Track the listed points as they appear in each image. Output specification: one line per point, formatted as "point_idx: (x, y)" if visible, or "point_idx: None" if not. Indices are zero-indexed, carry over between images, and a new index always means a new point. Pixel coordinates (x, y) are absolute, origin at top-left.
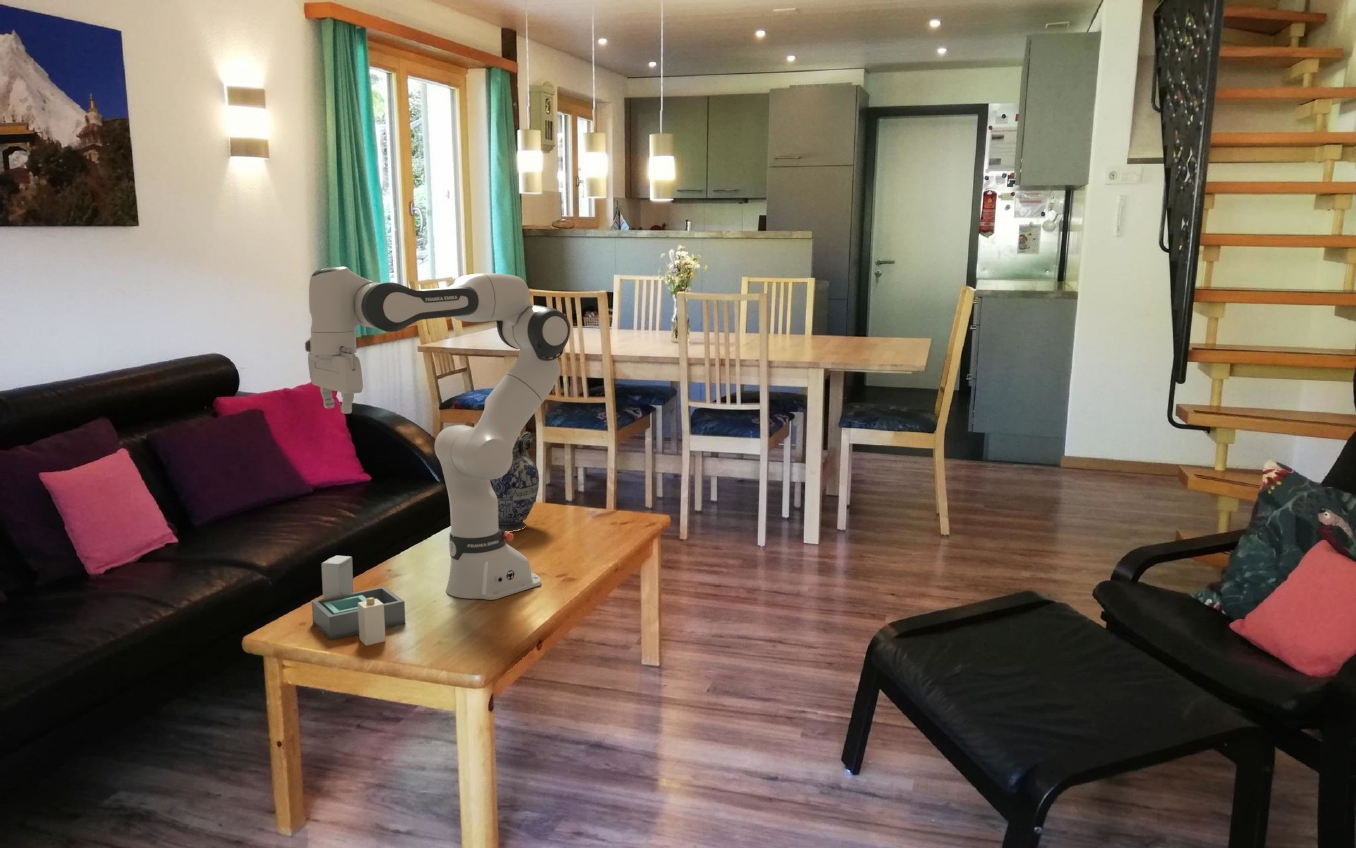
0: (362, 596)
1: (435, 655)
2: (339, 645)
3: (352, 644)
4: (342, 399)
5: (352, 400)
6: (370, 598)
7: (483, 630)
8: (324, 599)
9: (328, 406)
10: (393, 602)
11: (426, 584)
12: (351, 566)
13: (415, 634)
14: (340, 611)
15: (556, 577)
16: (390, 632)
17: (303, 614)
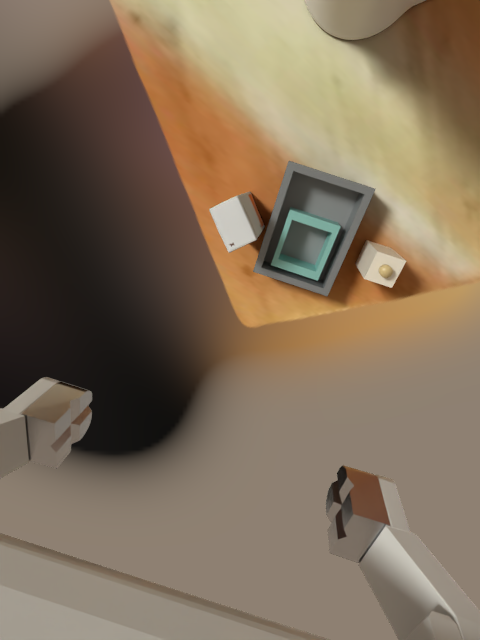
0: (295, 213)
1: None
2: (347, 289)
3: (359, 278)
4: (396, 633)
5: (451, 583)
6: (385, 271)
7: None
8: (262, 258)
9: (83, 423)
10: (363, 204)
11: (256, 24)
12: (242, 198)
13: (413, 207)
14: (319, 272)
15: None
16: (374, 223)
17: (219, 251)
